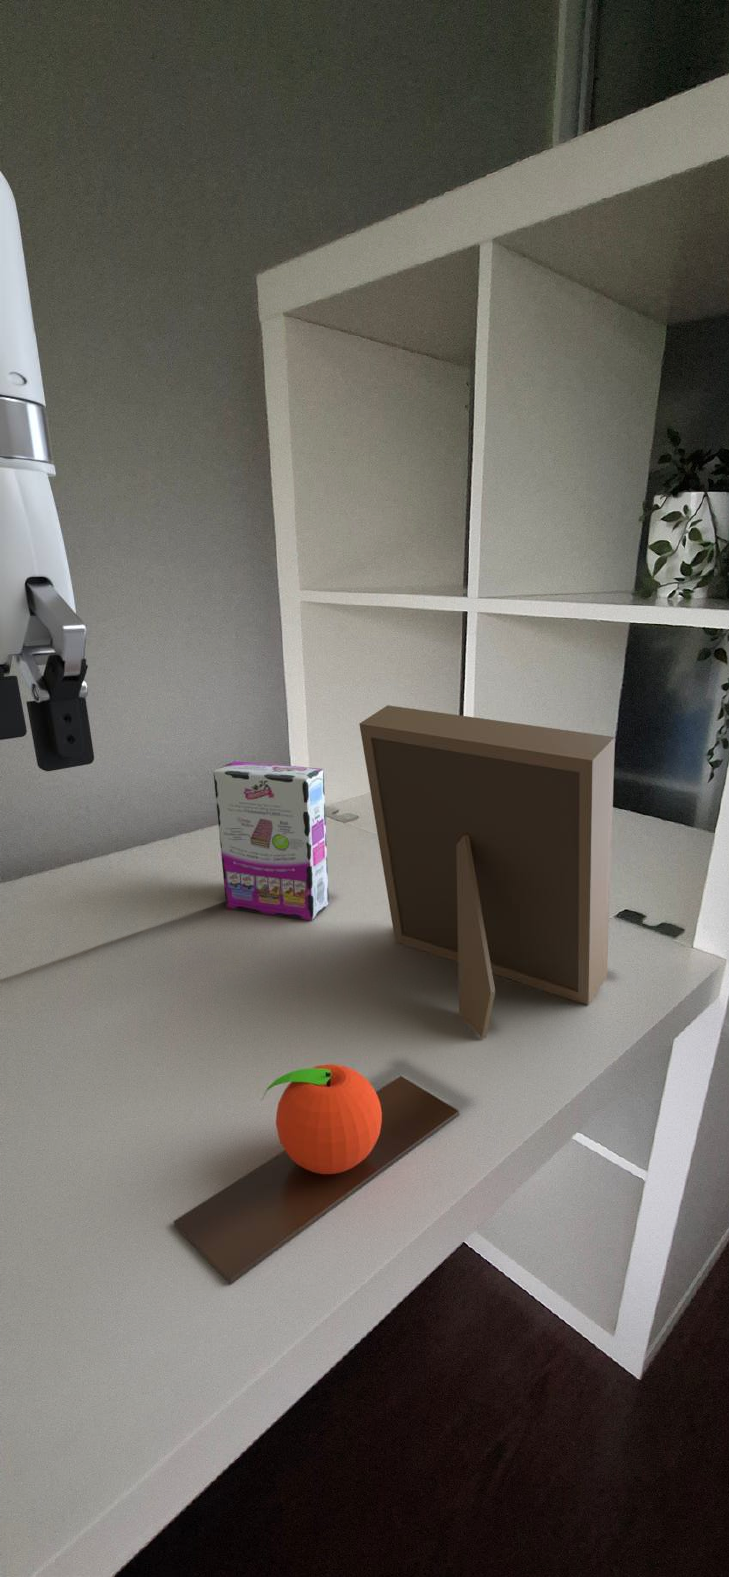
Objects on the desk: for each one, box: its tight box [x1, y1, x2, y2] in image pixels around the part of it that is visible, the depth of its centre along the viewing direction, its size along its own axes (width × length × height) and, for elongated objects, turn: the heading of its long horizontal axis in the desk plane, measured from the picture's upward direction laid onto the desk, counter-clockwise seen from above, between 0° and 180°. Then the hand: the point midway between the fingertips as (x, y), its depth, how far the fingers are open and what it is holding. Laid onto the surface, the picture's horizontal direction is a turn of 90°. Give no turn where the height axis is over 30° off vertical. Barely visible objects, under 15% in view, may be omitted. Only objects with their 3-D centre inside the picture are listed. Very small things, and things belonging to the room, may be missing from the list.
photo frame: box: [359, 704, 616, 1039], centre depth 69 cm, size 15×22×25 cm
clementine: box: [261, 1063, 382, 1174], centre depth 51 cm, size 8×7×7 cm
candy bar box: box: [212, 760, 330, 921], centre depth 87 cm, size 11×5×16 cm, turn 73°
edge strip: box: [173, 1075, 460, 1285], centre depth 52 cm, size 6×20×1 cm, turn 137°
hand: (32, 751), depth 49 cm, fingers open, 9 cm apart
